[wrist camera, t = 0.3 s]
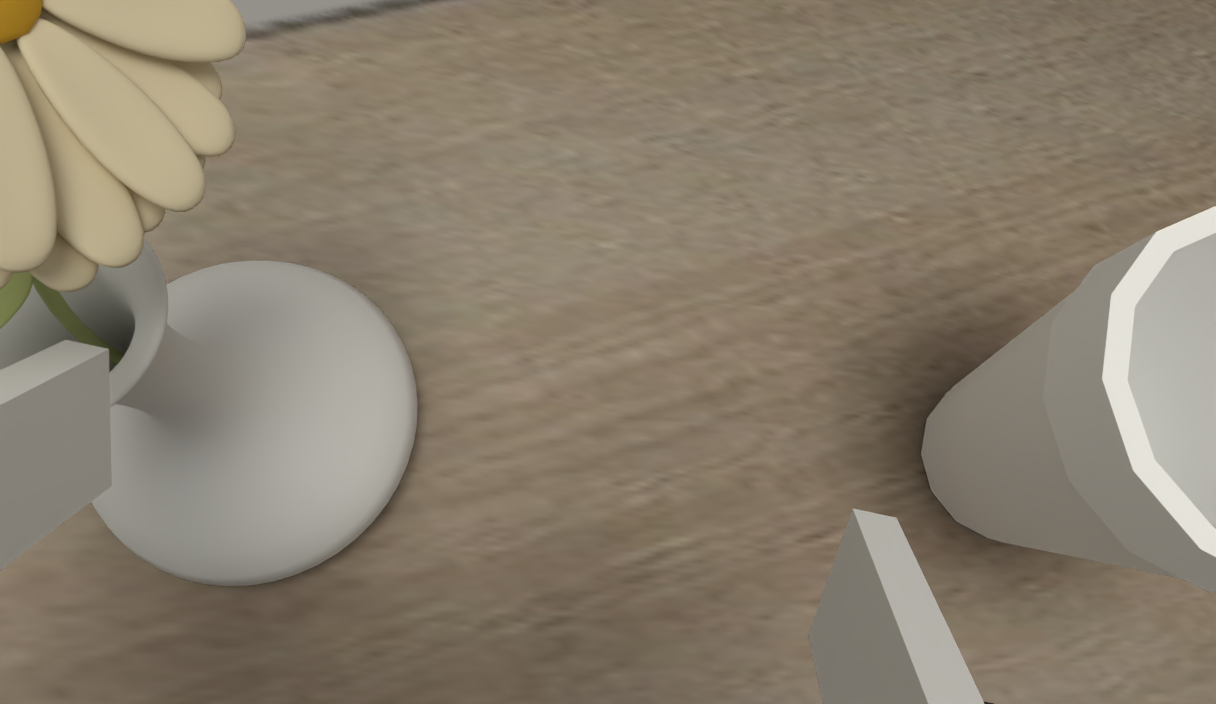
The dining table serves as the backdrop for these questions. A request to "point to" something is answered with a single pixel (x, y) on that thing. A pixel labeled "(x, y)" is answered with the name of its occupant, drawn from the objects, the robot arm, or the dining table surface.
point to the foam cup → (1098, 418)
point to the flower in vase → (185, 302)
